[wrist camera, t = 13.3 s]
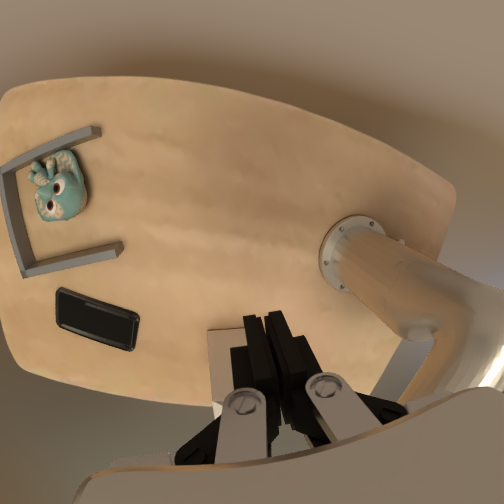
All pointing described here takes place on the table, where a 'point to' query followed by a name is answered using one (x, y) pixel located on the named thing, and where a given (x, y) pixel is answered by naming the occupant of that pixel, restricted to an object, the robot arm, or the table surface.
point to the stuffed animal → (58, 187)
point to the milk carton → (222, 363)
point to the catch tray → (5, 185)
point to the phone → (96, 320)
